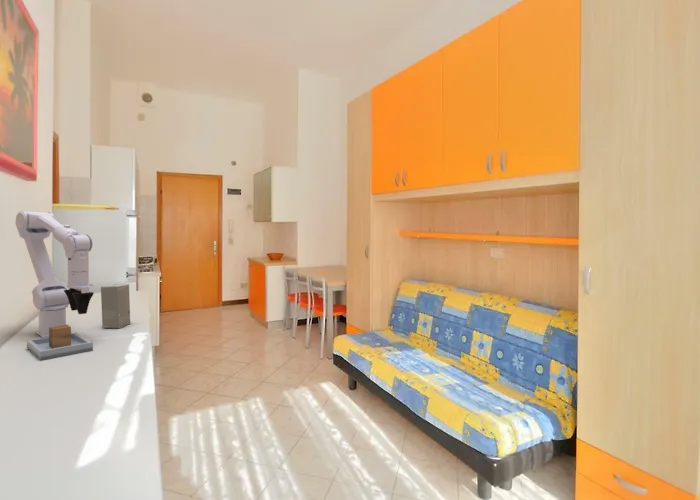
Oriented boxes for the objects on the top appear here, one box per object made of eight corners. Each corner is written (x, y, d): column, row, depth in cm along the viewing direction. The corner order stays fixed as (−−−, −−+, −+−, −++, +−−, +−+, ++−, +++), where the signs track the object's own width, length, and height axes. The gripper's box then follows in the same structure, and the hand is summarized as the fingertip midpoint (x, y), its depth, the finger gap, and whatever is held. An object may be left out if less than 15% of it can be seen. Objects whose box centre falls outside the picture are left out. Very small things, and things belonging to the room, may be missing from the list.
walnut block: (49, 346, 123) (48, 326, 123) (66, 343, 126) (66, 324, 126) (53, 349, 120) (53, 329, 120) (71, 346, 124) (70, 326, 123)
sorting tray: (26, 348, 123) (26, 340, 123) (76, 340, 133) (76, 332, 133) (40, 360, 113) (40, 351, 113) (92, 350, 123) (92, 342, 123)
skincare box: (118, 329, 148) (118, 286, 147) (99, 328, 148) (99, 286, 148) (131, 323, 157) (131, 283, 156) (113, 323, 157) (113, 283, 156)
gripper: (99, 272, 131) (99, 313, 132) (85, 268, 140) (85, 307, 141) (74, 274, 125) (74, 316, 126) (61, 269, 135) (61, 309, 136)
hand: (78, 311), depth 133 cm, fingers open, 7 cm apart
